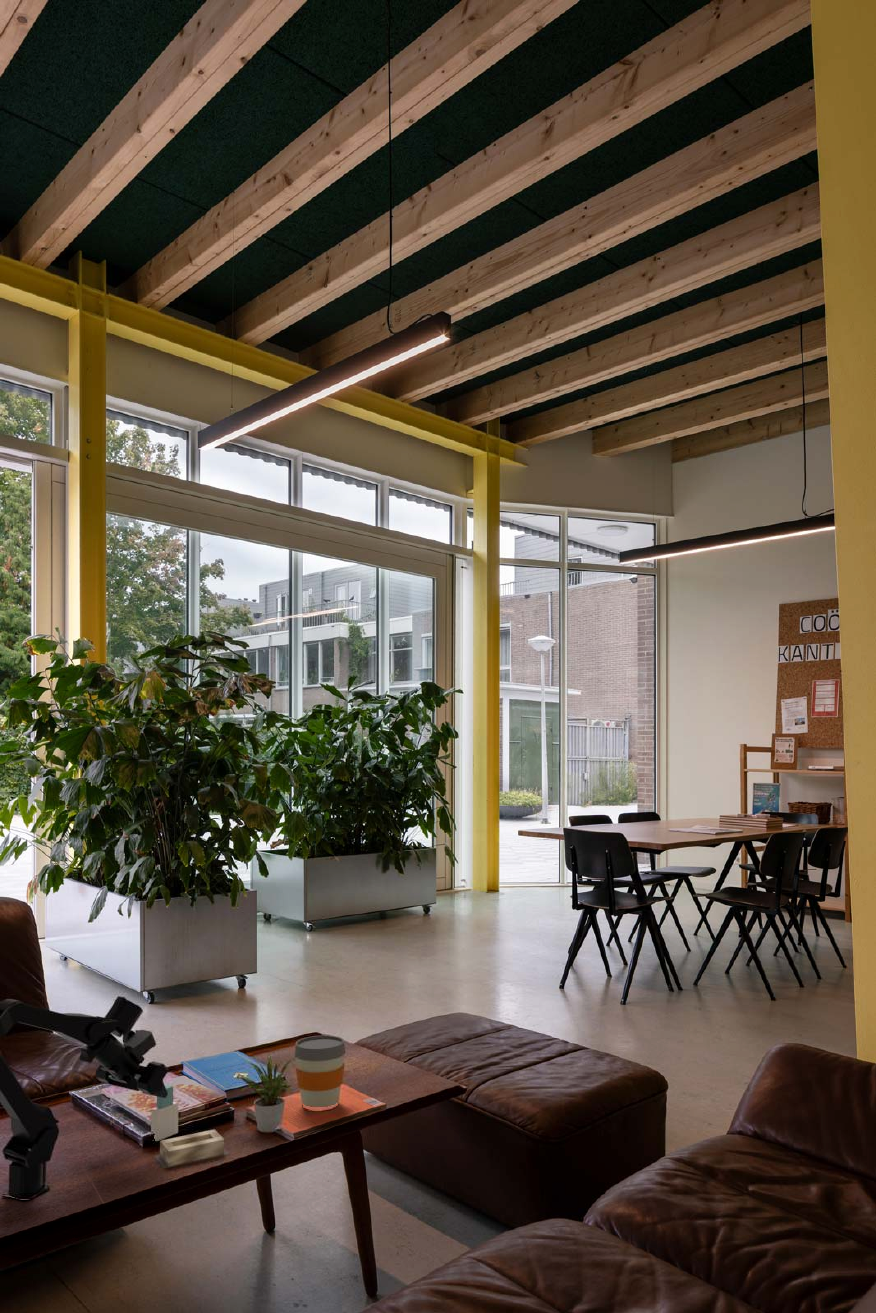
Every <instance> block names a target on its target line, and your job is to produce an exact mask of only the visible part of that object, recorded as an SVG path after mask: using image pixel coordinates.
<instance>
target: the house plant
mask: <svg viewBox="0 0 876 1313" xmlns="http://www.w3.org/2000/svg"><path fill="white" fill-rule="evenodd" d="M299 1057H300V1056H299ZM296 1058H298V1057H295V1056H294V1057H293V1058H290V1060H288V1058H287V1059H284V1060H281V1061H280V1063H278V1061H277V1060H276V1061H275V1064H274V1068H273V1058H272V1055H271V1054H270V1053H269V1055H268V1058H267V1064H266V1065H267V1067H266V1069H265V1068H264V1067H263V1065H262V1064H261V1063H260V1062H259V1061H257V1060H255V1062H256V1063H257V1064H259V1066H260V1067H261V1068H260V1067H259V1066H258V1065H256V1064H255V1063H252V1062H250V1061H243V1062H244V1063H246V1064H249V1065H250V1067H251V1068H253V1069H254V1070H255V1071H256V1072H257V1074H258V1077H259V1078H260V1079H259V1078H258V1077H257V1076H256V1075H255V1074H254V1073H253V1072H252V1071H250V1070H249V1069H246V1068H245V1070H246V1071H248V1072H249V1073H251V1074H253V1076H254V1077H255V1078H257V1080H260V1082H261V1083H260V1084H261V1085H260V1084H259V1083H258V1082H255V1081H253V1080H252V1079H250V1078H248V1077H245V1076H239V1075H236V1077H237V1078H238V1079H240V1080H242V1081H243V1082H244V1083H245V1084H247V1085H248V1086H245V1087H243V1088H242V1089H241V1090H240V1091H244V1090H247V1089H252V1090H254V1092H256V1094H257V1095H259V1098H258V1099H255V1100H254V1101H253V1106H254V1114H255V1119H256V1125H257V1126H256V1127H257V1130H258V1132H262V1133H274V1132H276V1131H275V1128H277V1126H279V1125H281V1126H282V1121H283V1115H284V1108H285V1102H286V1101H285V1100H286V1099H285V1098H283V1097H281V1096H280V1094H281V1093H282V1092H283V1091H284V1090H287V1089H288V1090H289V1092H290V1087H292V1086H290V1085H286V1084H288V1083H293V1082H292V1080H291V1081H290V1080H286V1079H284V1077H286V1075H288V1074H287V1073H289V1071H291V1069H292V1068H293V1065H292V1066H291V1067H290V1068H289V1069H288V1070H287V1068H288V1067H289V1066H290V1065H291V1064H292V1062H293V1061H295V1060H296ZM287 1060H288V1061H287ZM285 1061H287V1062H286V1063H285V1064H284V1066H283V1067H282V1069H281V1071H280V1073H279V1074H277V1072H278V1069H279V1067H280V1065H281V1064H282V1063H284V1062H285ZM241 1069H242V1070H244V1068H242V1067H241ZM261 1069H262V1070H261ZM286 1070H287V1071H286ZM285 1071H286V1073H285ZM284 1073H285V1074H284ZM283 1075H284V1076H283Z"/></svg>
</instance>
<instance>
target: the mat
mask: <svg viewBox="0 0 876 1313" xmlns="http://www.w3.org/2000/svg"><path fill="white" fill-rule="evenodd" d="M226 1155H227V1156H228V1155H230V1153H229V1151H228V1150H227V1149H226V1148H225V1147H224V1154H222V1155H218V1156H213V1157H209V1158H204V1159H200V1160H195V1161H191V1162H186V1163H182V1164H177V1165H173V1166H169V1167H168V1165H167V1164H166V1163H165V1161H164V1160H163V1159H162V1158H161V1156H160V1154H157V1155H154V1157H155V1158H156V1160H157V1161H158V1163H159V1164H160V1165H161V1166H162V1168H163V1169H164V1170H165V1169H169V1168H173V1167H177V1166H182V1165H183V1166H184V1165H187V1164H191V1163H195V1162H200V1161H205V1160H208V1159H214V1158H219V1157H223V1156H226Z"/></svg>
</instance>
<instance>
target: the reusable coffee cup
mask: <svg viewBox="0 0 876 1313" xmlns="http://www.w3.org/2000/svg"><path fill="white" fill-rule="evenodd" d="M294 1049H295V1050H294V1058H295V1057H298V1058H296V1059H295V1061H296V1066H295V1072H296V1081H297V1087H298V1088H299V1091H300V1099H301V1104H302V1103H303V1104H304V1105H306V1106H310V1107H328V1106H331V1105H335V1104H336V1103H338V1102H339V1103H340V1093H341V1086H342V1085H343V1082H344V1075H345V1074H344V1072H345V1063H344V1057H345V1054H346V1047H345V1040H344V1038H342V1037H340V1036H336V1035H313V1036H308V1037H303V1038H300V1039H298V1040H297V1041H296V1042H295V1048H294ZM299 1056H300V1057H299Z"/></svg>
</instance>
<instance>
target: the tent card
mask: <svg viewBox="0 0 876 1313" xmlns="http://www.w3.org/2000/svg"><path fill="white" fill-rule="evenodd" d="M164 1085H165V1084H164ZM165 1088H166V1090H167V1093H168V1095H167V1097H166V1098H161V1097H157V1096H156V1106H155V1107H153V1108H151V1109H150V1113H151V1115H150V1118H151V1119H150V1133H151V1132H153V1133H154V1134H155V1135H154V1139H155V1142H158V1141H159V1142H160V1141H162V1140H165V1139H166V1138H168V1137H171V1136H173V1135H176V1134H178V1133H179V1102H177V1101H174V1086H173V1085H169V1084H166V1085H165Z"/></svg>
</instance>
